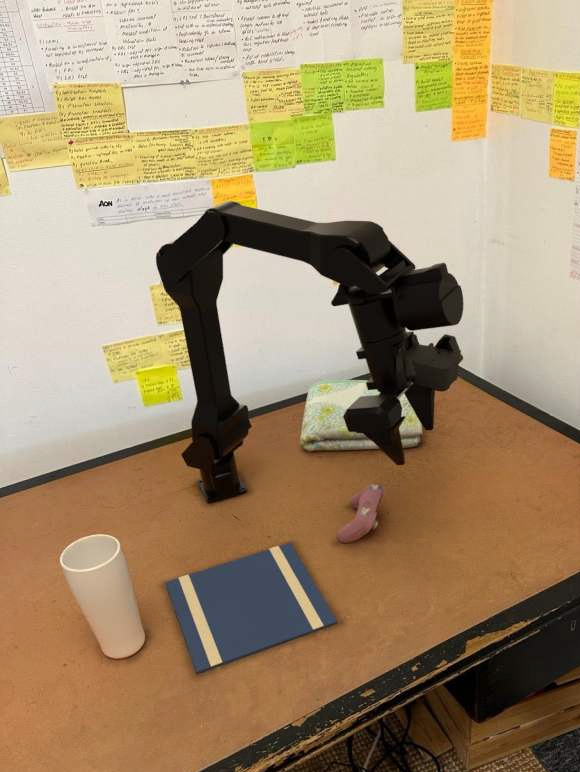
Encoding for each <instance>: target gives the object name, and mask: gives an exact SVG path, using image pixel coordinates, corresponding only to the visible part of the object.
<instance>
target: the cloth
mask: <svg viewBox="0 0 580 772" xmlns="http://www.w3.org/2000/svg"><path fill="white" fill-rule="evenodd" d="M165 586H166V589H167V592H168V594H169V598H170V600H171V604H172V606H173V609H174V612H175V615H176V618H177V620H178V623H179V626H180V630H181V632H182V636H183V638H184V641H185V644H186V647H187V650H188V653H189V655H190V656H189V657H190V659H191V661H192V664H193V667H194V670H195V674H196V675H199V674H202V673H204V672H207V671H210V670H212V669H215V668H218V667H221V666H223V665H226V664H229V663H232V662H234V661H237V660H240V659H242V658H245V657H248V656H251V655H254V654H256V653H259V652H262V651H265V650H267V649H270V648H273V647H276V646H279V645H281V644H285V643H287V642H289V641H292V640H295V639H298V638H301V637H303V636H306V635H309V634H312V633H314V632H318V631H320V630H323V629H325V628H328V627H331V626H335V625H336V624H338V620H337V619H336V617H335V615H334V613H333V612H332V610H331V608H330V606H329V605H328V603H327V602H326V600H325V598H324V597H323V595H322V593H321V592H320V590H319V588H318V586H317V584H316V583H315V581H314V579H313V578H312V577H311V574H310V573H309V572H308V570H307V568H306V566H305V565H304V563H303V561H302V560H301V557H300V556H299V555H298V553H297V551H296V549H295V548H294V546H293V544H292V543H291V542H287V543H284V544H280V545H276V546H273V547H269V548H268V549H265V550H262V551H259V552H256V553H252V554H249V555H246V556H243V557H240V558H237V559H233V560H231V561H227V562H225V563H221V564H218V565H215V566H212V567H209V568H206V569H203V570H199V571H197V572H193V573H190V574H185V575H182V576H179V577H177V578H174V579H171V580H168V581H165Z"/></svg>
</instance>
